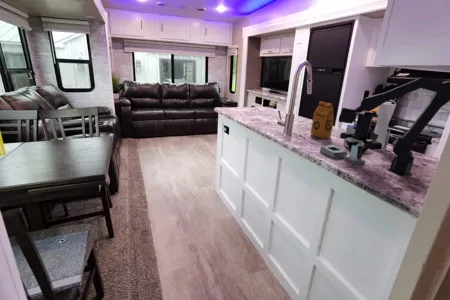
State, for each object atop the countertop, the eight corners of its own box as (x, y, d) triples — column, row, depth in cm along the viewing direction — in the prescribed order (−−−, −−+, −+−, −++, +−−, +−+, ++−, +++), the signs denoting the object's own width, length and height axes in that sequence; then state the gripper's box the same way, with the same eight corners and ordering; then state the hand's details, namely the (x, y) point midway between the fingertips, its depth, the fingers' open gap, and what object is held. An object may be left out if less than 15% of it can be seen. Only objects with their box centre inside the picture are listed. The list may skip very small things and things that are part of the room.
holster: (364, 163, 110) (365, 161, 109) (354, 165, 108) (355, 162, 107) (354, 159, 115) (354, 156, 115) (344, 160, 113) (344, 157, 113)
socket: (346, 157, 117) (347, 151, 116) (333, 158, 115) (334, 152, 114) (332, 150, 126) (333, 144, 125) (319, 151, 124) (321, 145, 123)
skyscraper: (382, 152, 127) (397, 100, 118) (366, 148, 133) (379, 98, 123) (386, 149, 133) (400, 99, 124) (370, 146, 138) (383, 98, 129)
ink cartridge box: (361, 146, 136) (367, 121, 131) (363, 149, 131) (369, 123, 126) (342, 144, 139) (348, 120, 134) (344, 146, 134) (349, 121, 129)
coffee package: (319, 139, 146) (326, 103, 139) (308, 134, 157) (313, 100, 150) (333, 138, 149) (340, 104, 142) (320, 133, 160) (326, 101, 153)
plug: (360, 163, 110) (364, 147, 108) (354, 163, 109) (358, 147, 107) (354, 160, 113) (358, 144, 111) (348, 160, 112) (352, 145, 110)
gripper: (396, 130, 99) (386, 163, 105) (360, 120, 116) (353, 150, 121) (376, 131, 96) (366, 165, 101) (342, 121, 113) (335, 151, 118)
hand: (355, 157), depth 111 cm, fingers closed on plug, 3 cm apart
